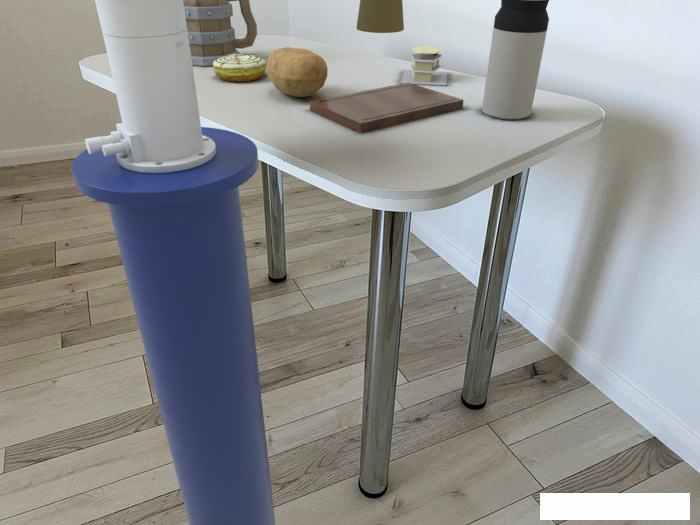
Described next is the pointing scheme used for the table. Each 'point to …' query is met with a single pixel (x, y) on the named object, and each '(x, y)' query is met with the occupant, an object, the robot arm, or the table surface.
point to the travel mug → (515, 58)
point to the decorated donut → (239, 67)
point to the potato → (296, 71)
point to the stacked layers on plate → (425, 67)
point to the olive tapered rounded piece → (380, 16)
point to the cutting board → (385, 106)
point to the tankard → (216, 29)
